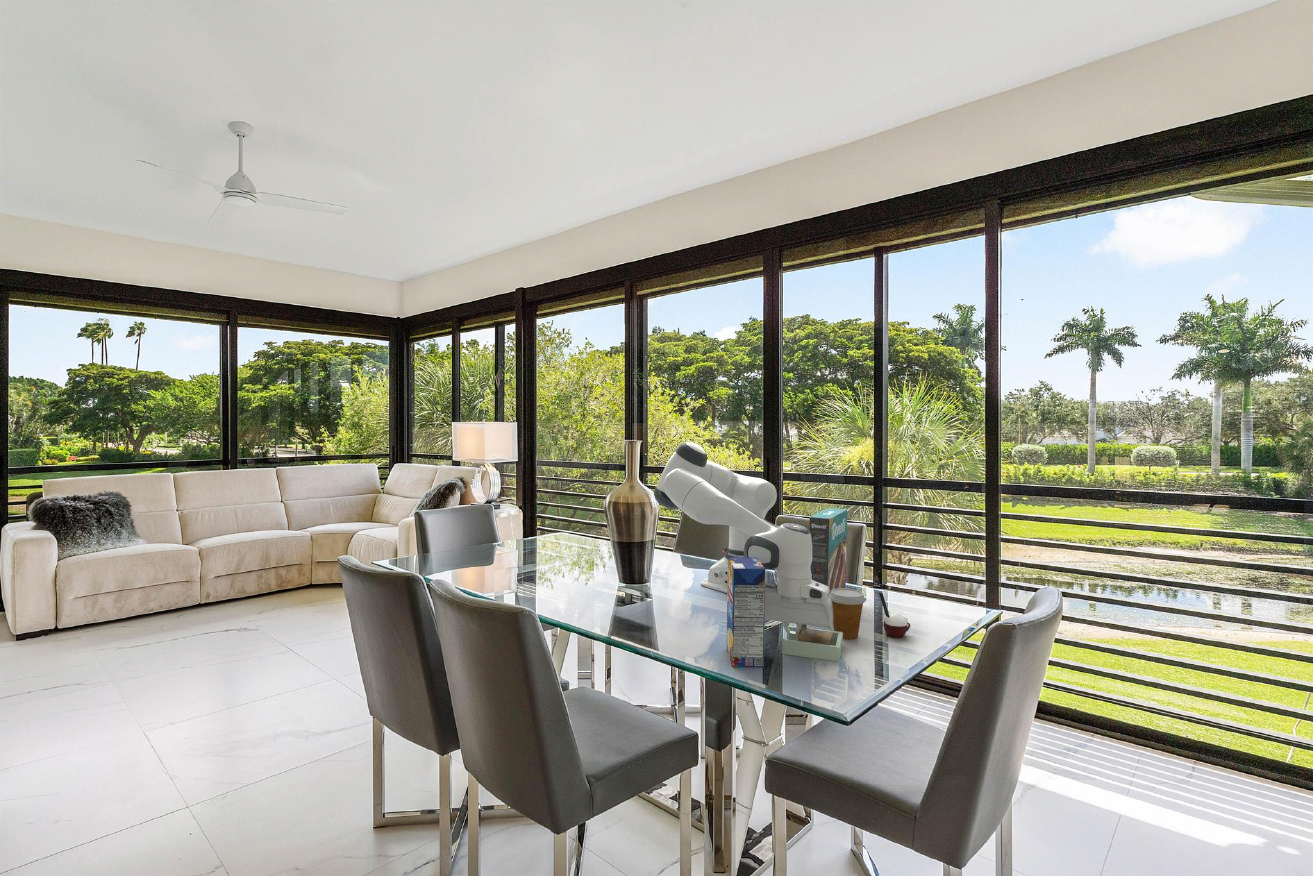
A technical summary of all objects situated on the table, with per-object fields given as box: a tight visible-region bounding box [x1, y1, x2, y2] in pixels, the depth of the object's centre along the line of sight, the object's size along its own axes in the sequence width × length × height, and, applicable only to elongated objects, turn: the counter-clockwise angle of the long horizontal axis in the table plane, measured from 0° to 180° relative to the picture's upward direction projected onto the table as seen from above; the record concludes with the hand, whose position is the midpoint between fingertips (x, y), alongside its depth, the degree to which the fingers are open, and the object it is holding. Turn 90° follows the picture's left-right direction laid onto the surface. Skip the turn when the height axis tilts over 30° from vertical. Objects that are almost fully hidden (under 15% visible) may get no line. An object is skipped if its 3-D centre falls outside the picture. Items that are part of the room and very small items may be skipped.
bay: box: [781, 625, 844, 663], centre depth 169 cm, size 14×12×4 cm
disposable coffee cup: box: [829, 587, 866, 640], centre depth 180 cm, size 10×10×12 cm
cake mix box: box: [808, 507, 849, 598], centre depth 204 cm, size 22×6×30 cm, turn 150°
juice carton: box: [726, 557, 766, 669], centre depth 162 cm, size 12×8×24 cm, turn 0°
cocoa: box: [878, 591, 911, 639], centre depth 180 cm, size 10×6×12 cm, turn 81°
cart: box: [798, 624, 833, 645], centre depth 168 cm, size 8×8×6 cm
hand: (792, 639), depth 170 cm, fingers closed
